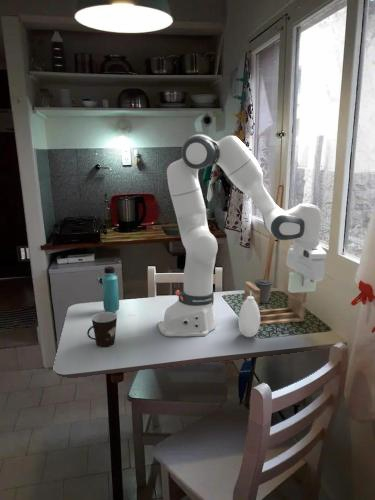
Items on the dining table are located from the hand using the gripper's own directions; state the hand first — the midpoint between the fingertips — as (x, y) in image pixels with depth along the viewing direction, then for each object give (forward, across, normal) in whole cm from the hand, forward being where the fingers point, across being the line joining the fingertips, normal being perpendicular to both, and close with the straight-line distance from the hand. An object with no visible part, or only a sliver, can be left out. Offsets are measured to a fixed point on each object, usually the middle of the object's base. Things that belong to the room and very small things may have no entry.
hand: (302, 284), depth 140 cm
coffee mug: (+20, -7, -73) cm, 76 cm away
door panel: (+2, 0, 0) cm, 2 cm away
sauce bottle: (+19, -1, -20) cm, 27 cm away
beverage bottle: (+20, -34, -68) cm, 78 cm away
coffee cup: (+19, -32, 0) cm, 37 cm away
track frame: (+19, -13, -4) cm, 23 cm away
